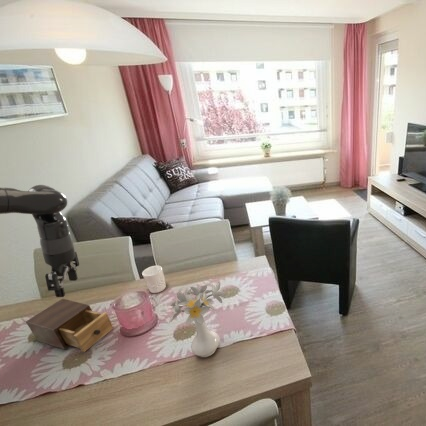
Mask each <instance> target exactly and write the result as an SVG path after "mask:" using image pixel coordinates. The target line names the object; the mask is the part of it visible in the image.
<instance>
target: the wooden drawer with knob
mask: <svg viewBox="0 0 426 426" xmlns="http://www.w3.org/2000/svg"><path fill="white" fill-rule="evenodd" d="M113 329H114V325H113V324H112V322H111V319H110V317H109V315H108V312H105V311H104V312H102V313H101V312H98V311H94V310H92V311H90V310H85V311H83V312H82V313H80V314H79V315H78V316H76V317H75V318H73V319H72V320H70V321H69V322H68V323H66V324H65V325H63V326H62V327H61V328H59V329H58V330H57V331H58V333H59V334H60V336H61V338H62V340H63V341H64V343H65V344H68V345H70V346H72V347H74V348H78V349H79V350H81V353H82V352H83V353H85V352H87V351H88V350H89V349H90V348H91V347H92V346H94V345H95V344H96V343H97V342H98V341H99V340H101V339H103V337H105V336H106V335H107V334H108V333H109V332H111V331H112V330H113Z"/></svg>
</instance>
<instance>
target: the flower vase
mask: <svg viewBox="0 0 426 426" xmlns="http://www.w3.org/2000/svg"><path fill="white" fill-rule="evenodd" d="M207 288H208V286H207V285H202V286H201V287H199V288H197V287H195V286H190V287H189V289H188V290H186V292H185V294H184V293H183V292H182V291H178V292H177V294H176V296H177V297H176V298H175V301H173V302H172V303H170V307H171V313H173V314H172V315H171V317H170V318H169V321H168V323H169V324H170V323H172V322H173V321H174V320H175V318H177V316H179V315H180V314H181V313H184V314H186V315H188V317H187V318H186V320H185V324H186V325H187V326H189V325H191V324H192V323H193V322H194V325H195V330H196V334H195V336H194V337H193V338H192V341H191V344H190V349H191V350H190V351H191V353H193V354H194V355H195V356H197V357H200V358H208V357H210V356H212V355H213V354H214V353H215V352H216V351H217V348H218V347H219V345H220V341H221V340H220V336H219V334H218V333H217V332H215V331H214V330H210V329H208V327H207V325H206V321H205V318H204V314H207V313H208V312H209V311H210V309H212V310H214V311H216V307H214V306H213V304H214V302H215V301H214V300H213V299H216V301H218V302H219V303H220V304H223V299H222V297H225V296H226V292H225V291H224V290H221V282H220V281H218V282H217V283H216V285H215V284H213V283H212V284H211V289H207ZM210 293H211V294H210ZM207 294H208V295H207ZM210 297H213V299H211V298H210ZM183 307H184V309H183V310H182V308H183Z"/></svg>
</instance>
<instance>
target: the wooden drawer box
mask: <svg viewBox="0 0 426 426" xmlns="http://www.w3.org/2000/svg"><path fill="white" fill-rule="evenodd" d="M85 310H90V311H93V310H92V308H91V306H90V304H86V303H82V302H79V301H74V300H70V299H66V298H61V299H60V300H57V301H56V302H55V303H53V304H52V305H49V306H48V307H47V308H45V309H43V310H42V311H40V312H38V313H37V314H36V315H34V316H32V317H31V318H29V319H27V320H26V321H25V323H26V324H27V326H28V328H29V330H30V331H31V333H32V334H33V336H34V338H35V340H36V341H37V342H40V343H43V344H45V345H50V346H52V347H55V348H58V349H61V350H67V349H68V348H69V347H70V346H71V345H68V344H65V343H64V341H63V340H62V338H61V336H60V334H59V333H58V331H57V330H58V329H59V328H61V327H62V326H63V325H65V324H66V323H68V322H69V321H70V320H72V319H73V318H75V317H76V316H78V315H79V314H80V313H82V312H83V311H85Z"/></svg>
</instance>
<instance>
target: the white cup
mask: <svg viewBox="0 0 426 426" xmlns="http://www.w3.org/2000/svg"><path fill="white" fill-rule="evenodd" d="M141 274H142V277H143V279H144V282H145V284H146V286H147V288H148V291H149V292H150V293H151V294H158V293H161V292H162V291H164V290H166V288H167V284H166V278H165V274H164V270H163V267H162V266H161V265H151V266H149V267H147V268H145V269H144V270H142V272H141Z"/></svg>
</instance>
